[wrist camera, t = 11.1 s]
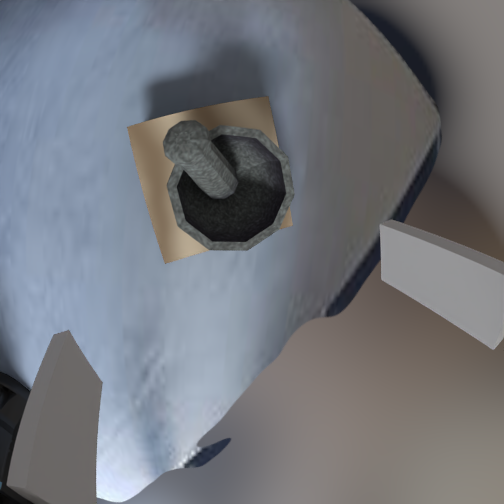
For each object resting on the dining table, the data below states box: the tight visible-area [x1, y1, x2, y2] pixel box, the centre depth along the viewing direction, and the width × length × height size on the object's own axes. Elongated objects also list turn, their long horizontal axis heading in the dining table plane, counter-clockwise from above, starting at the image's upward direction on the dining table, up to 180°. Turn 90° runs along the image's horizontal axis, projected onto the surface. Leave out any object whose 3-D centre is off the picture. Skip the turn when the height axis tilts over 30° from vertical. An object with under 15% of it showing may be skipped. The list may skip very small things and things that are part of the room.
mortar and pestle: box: [163, 120, 294, 250], centre depth 21 cm, size 11×9×12 cm
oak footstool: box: [127, 96, 293, 264], centre depth 30 cm, size 14×14×6 cm
